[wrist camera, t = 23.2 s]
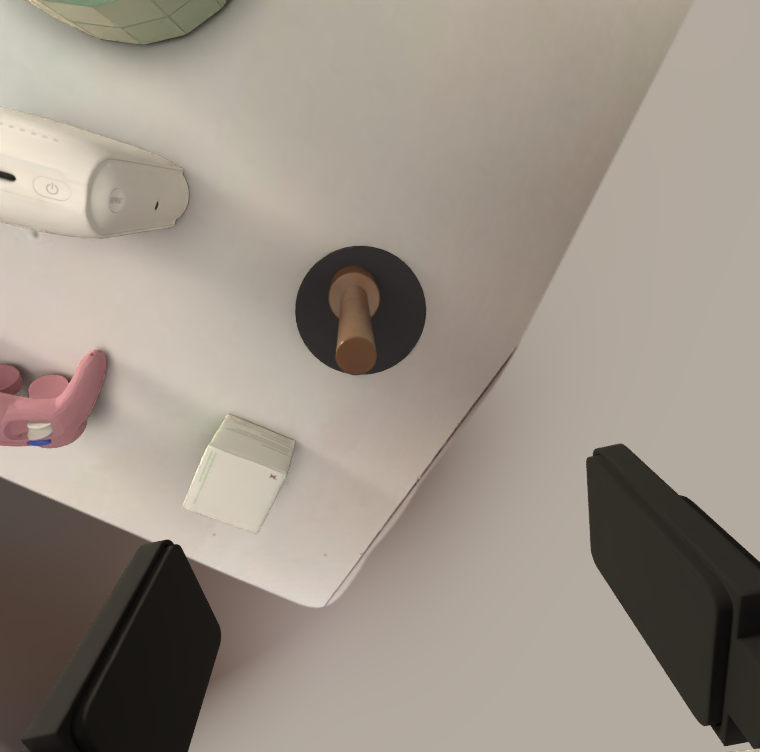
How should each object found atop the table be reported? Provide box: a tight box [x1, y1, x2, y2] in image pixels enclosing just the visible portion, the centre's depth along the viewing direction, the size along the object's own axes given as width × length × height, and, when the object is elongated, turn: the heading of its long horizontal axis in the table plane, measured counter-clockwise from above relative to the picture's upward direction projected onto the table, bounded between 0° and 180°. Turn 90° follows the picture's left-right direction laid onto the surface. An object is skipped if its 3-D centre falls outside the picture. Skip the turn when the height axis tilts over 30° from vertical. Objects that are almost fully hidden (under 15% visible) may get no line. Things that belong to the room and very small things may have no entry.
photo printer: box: [0, 106, 189, 239], centre depth 22 cm, size 10×4×12 cm, turn 73°
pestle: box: [328, 266, 380, 375], centre depth 24 cm, size 3×3×14 cm
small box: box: [183, 414, 295, 534], centre depth 33 cm, size 6×6×5 cm
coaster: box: [295, 246, 426, 375], centre depth 32 cm, size 9×9×1 cm
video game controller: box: [0, 350, 106, 448], centre depth 30 cm, size 10×5×7 cm, turn 75°
